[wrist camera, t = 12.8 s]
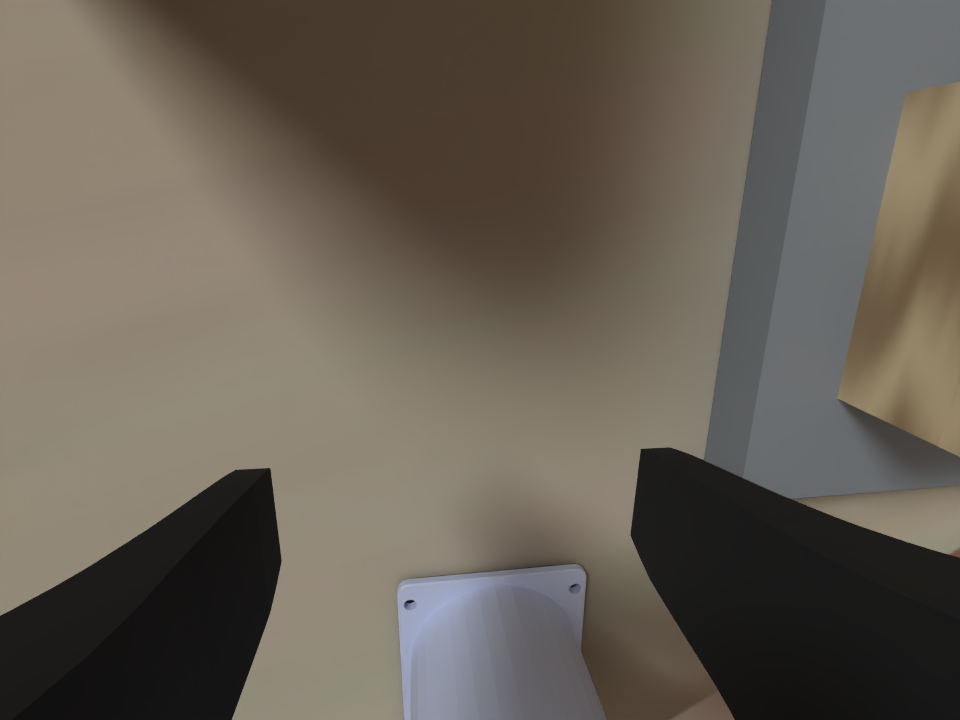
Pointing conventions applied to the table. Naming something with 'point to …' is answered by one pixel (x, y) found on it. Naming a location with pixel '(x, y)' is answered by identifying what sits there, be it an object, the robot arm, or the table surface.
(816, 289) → the loading dock
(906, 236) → the tan rectangular block
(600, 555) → the table surface
